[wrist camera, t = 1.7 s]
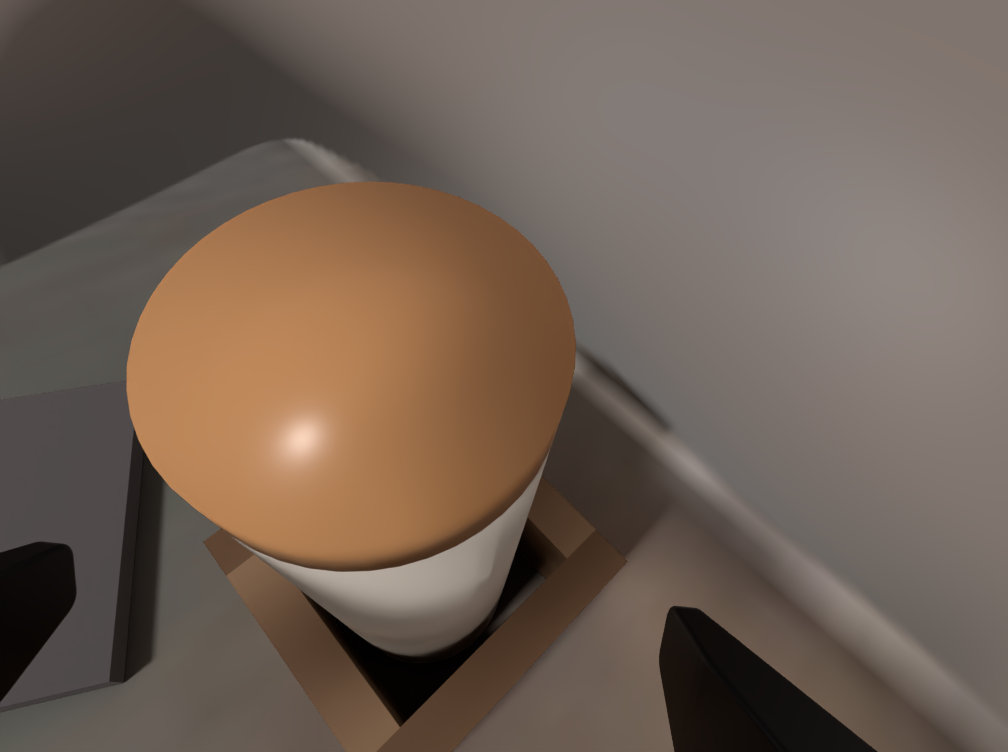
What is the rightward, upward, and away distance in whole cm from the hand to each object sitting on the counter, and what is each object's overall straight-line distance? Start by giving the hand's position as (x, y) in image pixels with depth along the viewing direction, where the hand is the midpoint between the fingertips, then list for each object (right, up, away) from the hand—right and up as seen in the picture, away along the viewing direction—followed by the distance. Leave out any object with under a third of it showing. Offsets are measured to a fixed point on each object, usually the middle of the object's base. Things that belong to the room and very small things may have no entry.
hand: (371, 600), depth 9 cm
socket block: (-1, -3, +10) cm, 11 cm away
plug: (-1, -3, +10) cm, 11 cm away
